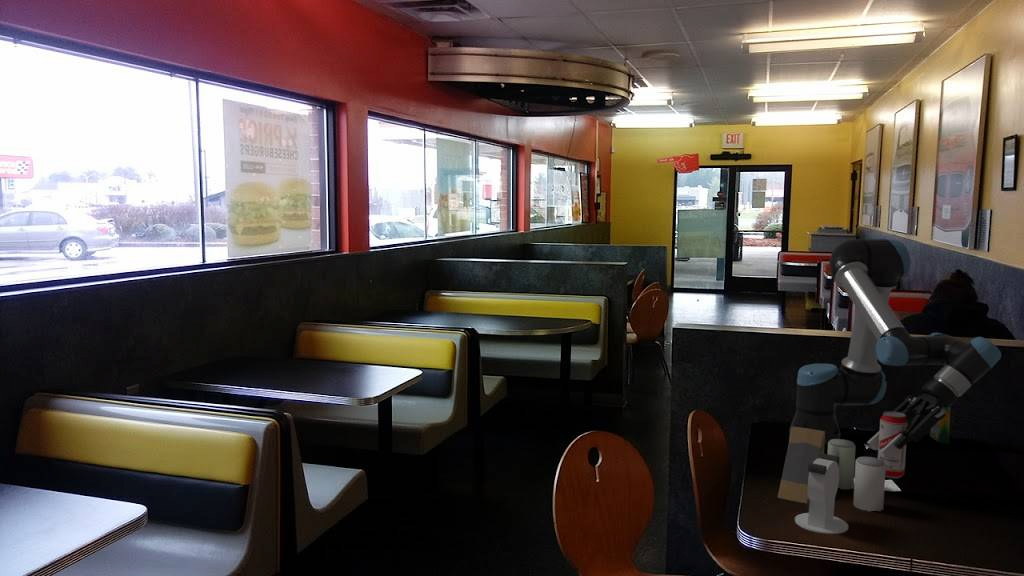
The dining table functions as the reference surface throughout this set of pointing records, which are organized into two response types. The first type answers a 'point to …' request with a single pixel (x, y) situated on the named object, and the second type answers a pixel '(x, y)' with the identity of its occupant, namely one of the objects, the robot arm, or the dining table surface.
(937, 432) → the crayon box
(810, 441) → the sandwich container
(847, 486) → the sage tin
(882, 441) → the beer can
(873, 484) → the off-white tin
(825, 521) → the white post on disc
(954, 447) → the dining table surface
